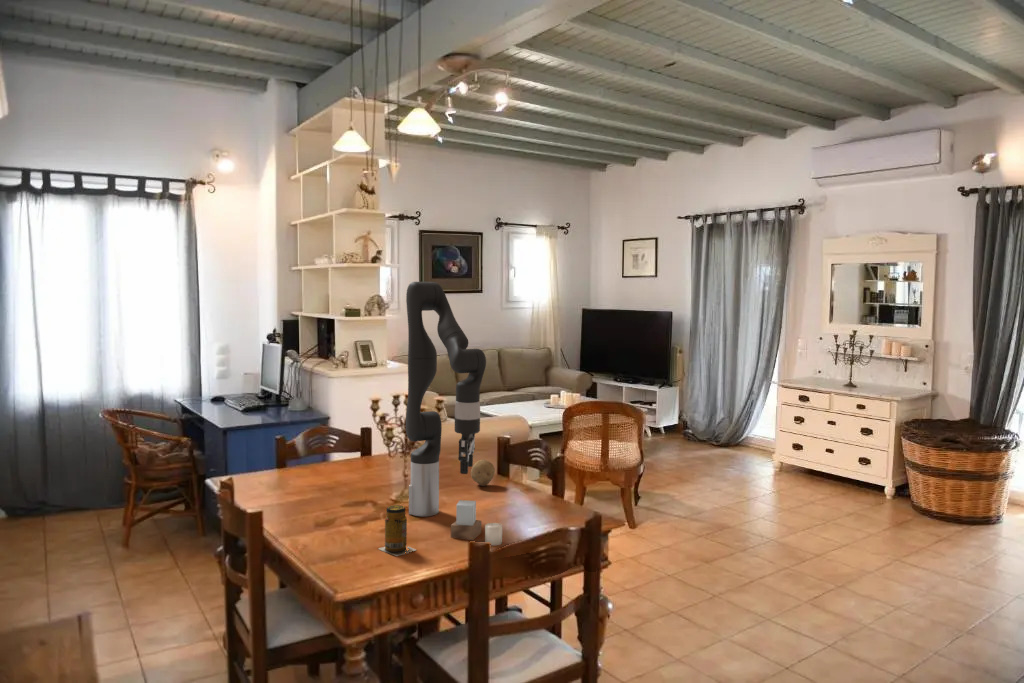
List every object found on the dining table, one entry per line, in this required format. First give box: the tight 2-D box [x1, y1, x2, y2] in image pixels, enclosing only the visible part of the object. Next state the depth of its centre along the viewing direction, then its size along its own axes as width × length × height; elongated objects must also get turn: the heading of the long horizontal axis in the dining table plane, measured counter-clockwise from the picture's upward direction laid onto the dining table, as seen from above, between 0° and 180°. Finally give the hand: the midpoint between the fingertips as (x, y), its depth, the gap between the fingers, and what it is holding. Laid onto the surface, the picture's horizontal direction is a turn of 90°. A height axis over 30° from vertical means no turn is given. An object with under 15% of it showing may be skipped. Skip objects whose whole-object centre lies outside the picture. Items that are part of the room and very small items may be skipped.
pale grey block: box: [455, 499, 477, 526], centre depth 221 cm, size 5×5×6 cm
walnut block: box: [450, 519, 482, 541], centre depth 221 cm, size 7×7×4 cm
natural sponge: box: [470, 459, 496, 487], centre depth 274 cm, size 9×9×10 cm
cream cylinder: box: [484, 522, 503, 546], centre depth 215 cm, size 5×5×5 cm
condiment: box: [377, 504, 417, 557], centre depth 208 cm, size 7×8×12 cm
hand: (466, 470), depth 220 cm, fingers open, 8 cm apart
